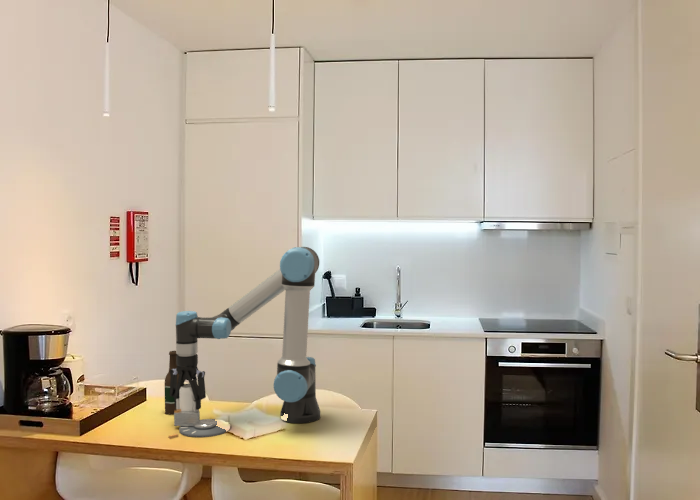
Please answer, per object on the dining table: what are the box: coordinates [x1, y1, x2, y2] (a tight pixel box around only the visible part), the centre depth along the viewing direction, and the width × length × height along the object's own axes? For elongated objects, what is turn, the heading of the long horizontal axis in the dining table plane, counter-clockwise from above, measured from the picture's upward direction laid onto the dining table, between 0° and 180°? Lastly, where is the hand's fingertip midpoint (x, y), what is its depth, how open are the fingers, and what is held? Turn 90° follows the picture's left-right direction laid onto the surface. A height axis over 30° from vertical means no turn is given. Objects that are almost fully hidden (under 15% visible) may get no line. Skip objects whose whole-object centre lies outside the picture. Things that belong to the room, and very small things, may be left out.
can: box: [179, 382, 195, 411], centre depth 228 cm, size 6×6×12 cm
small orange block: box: [168, 433, 179, 440], centre depth 214 cm, size 3×1×1 cm, turn 134°
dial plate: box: [178, 418, 227, 438], centre depth 223 cm, size 18×18×1 cm
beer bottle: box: [164, 350, 179, 416], centre depth 244 cm, size 8×8×24 cm
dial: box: [173, 409, 217, 429], centre depth 223 cm, size 15×8×5 cm, turn 83°
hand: (187, 416), depth 227 cm, fingers closed on can, 6 cm apart
